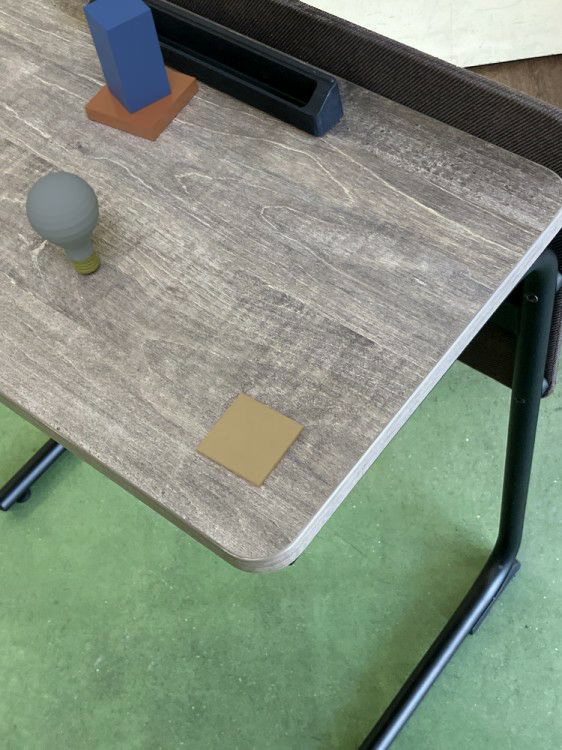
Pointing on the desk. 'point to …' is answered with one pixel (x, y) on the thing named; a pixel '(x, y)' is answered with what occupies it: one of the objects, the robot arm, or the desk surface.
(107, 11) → the block
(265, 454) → the mat
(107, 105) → the orange-brown square slab
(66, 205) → the light bulb
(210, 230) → the desk surface
